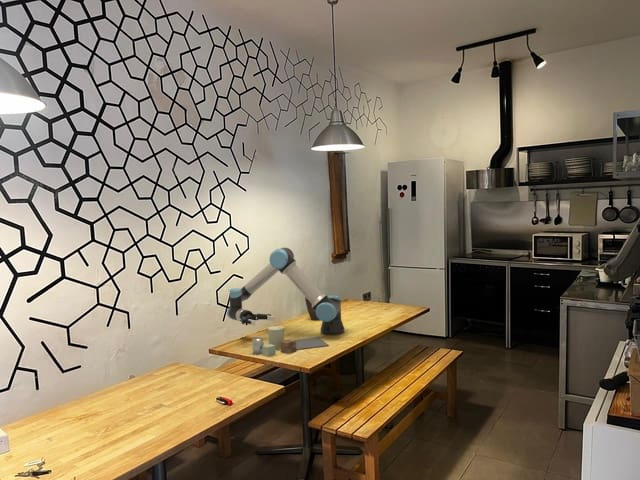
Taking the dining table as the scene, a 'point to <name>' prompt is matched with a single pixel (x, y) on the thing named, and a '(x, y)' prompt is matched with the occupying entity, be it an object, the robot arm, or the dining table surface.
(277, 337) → the can
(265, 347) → the sage block
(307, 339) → the charcoal mat
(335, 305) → the robot arm
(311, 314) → the plant pot
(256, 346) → the grey tin
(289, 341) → the walnut block
